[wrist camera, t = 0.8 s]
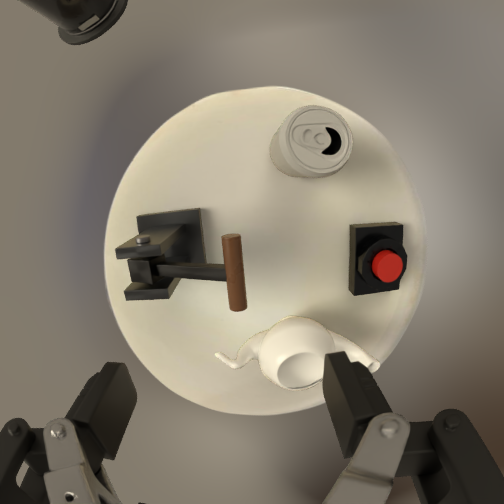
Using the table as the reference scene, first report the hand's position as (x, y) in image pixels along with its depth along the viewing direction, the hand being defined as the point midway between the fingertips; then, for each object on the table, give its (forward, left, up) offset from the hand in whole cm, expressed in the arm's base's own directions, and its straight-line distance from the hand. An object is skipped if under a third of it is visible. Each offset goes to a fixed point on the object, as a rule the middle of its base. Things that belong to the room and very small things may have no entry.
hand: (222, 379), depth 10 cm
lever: (0, -4, -15) cm, 16 cm away
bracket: (0, -8, -26) cm, 27 cm away
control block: (+4, +18, -26) cm, 32 cm away
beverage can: (-10, +8, -26) cm, 29 cm away
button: (+4, +18, -22) cm, 29 cm away
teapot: (+14, +6, -26) cm, 30 cm away
